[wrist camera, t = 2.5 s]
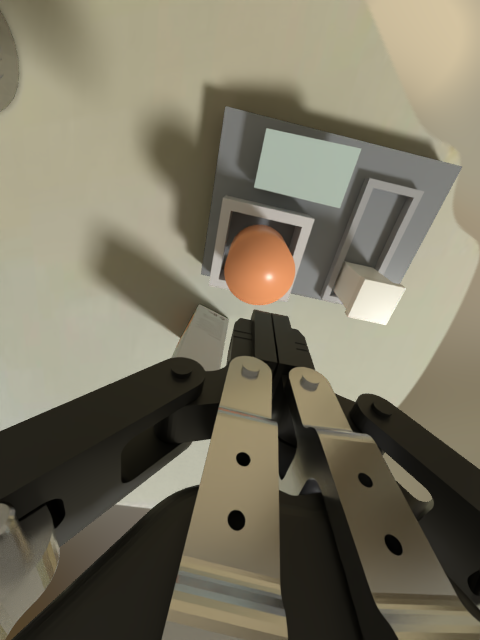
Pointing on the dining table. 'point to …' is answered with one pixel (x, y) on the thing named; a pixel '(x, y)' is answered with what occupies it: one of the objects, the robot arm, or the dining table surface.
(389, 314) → the lever
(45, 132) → the dining table surface
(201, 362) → the skincare box
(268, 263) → the orange piece
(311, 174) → the block
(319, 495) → the robot arm
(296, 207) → the panel
